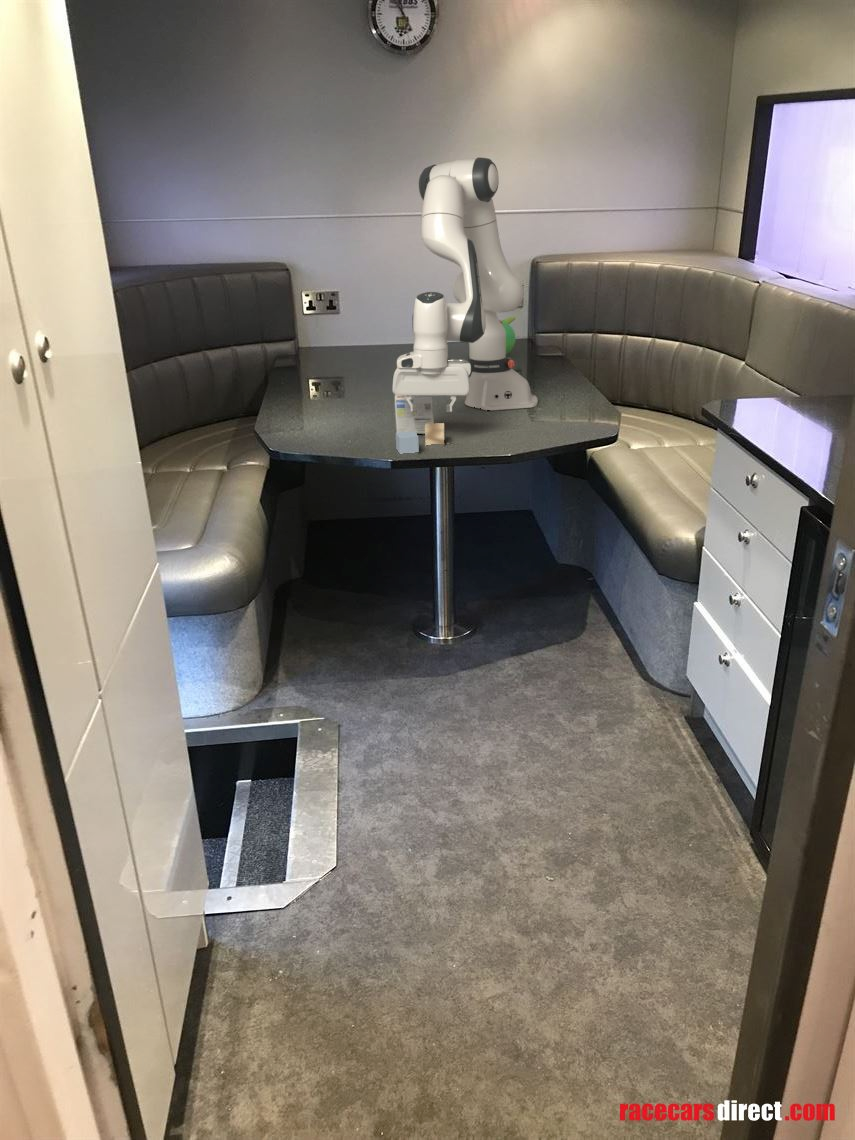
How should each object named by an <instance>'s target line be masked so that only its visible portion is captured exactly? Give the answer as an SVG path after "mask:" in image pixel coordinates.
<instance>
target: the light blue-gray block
mask: <svg viewBox="0 0 855 1140" xmlns="http://www.w3.org/2000/svg"><path fill="white" fill-rule="evenodd" d="M395 448H396V449H397V450H398V452H399V453H400V454H403V453H415V452H419V453H420V451H419V450H420V449H419V435H417V434H416V433H415V431H410V432H399V433H396V432H395ZM396 449H395V450H396Z"/></svg>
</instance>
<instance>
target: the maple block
mask: <svg viewBox="0 0 855 1140" xmlns="http://www.w3.org/2000/svg"><path fill="white" fill-rule="evenodd" d="M445 436H446V435H445V423H444V422H442V423H441V422H440V423H439V422H438V423H437V422H434V423H428V424H426V425H425V435H424V440H425V443H424V444H425V446H426V445H431V444H444V445H445V443H444V440H445V439H446V438H445ZM445 441H446V440H445Z"/></svg>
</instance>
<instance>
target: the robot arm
mask: <svg viewBox="0 0 855 1140" xmlns="http://www.w3.org/2000/svg"><path fill="white" fill-rule="evenodd" d="M498 188H499V171H498V168H497V166H496V164H495V163H494V161H493V160H492V159H490V158H487V157H476V158H461V159H455V160H451V161H448V162H443V163H440V164H432V165H430V166H429V165H428V166H427V167H424V169H423V170H422V172H421V174H420V175H419V178H418V191H419V192H418V193H419V195H420V197H421V200H422V201H423V202H422V207H421V218H420V219H421V220H420V221H421V223H420V224H421V226H420V234H421V240H422V242H423V244H424V246H425V248H426V249H428V250H429V251H430V252H432V254H434V255H436V256H438V258H441V259H444V260H447V261H448V262H451V263H454V264H456V265H457V266H458V267H459V268H461V270H462V272H460V273H459V274H458V275H457V276H456V277H455V279H454V281H453V284H452V294H453V297H454V299H455V301H457V302H447V301H446V296H445V295H444V294H443V293H440V292H438V291H426V292H422V293H419V294H418V295H416V297H415V299H414V305H413V313H412V319H411V321H412V332H413V334H414V343H413V351H410V352H408V353H405V354H401V355H399V357H397V359H396V369H395V371H394V373H393V376H392V377H393V378H392V388H391V389H392V393H393V394H394V396H395V395H406V400H407V402H408V403H409V405H410V406H411V412H416V411H417V408H416V407H417V406H416V404H413V402H412V401H411V399H412V395H432V396H450V400H451V401H450V402H449V403H448V404H446V408H445V409H446V413H452V412H453V406H454V403H455V402H456V400H457V396H465V401H464V404H465V405H466V406H467V407H470V408H474V407H475V408H476V409H480V408H481V410H484V411H487V410H490V411H499V410H500V411H502V410H515V409H526V408H527V409H528V408H534V407H537V405H538V404H539V401H538V400H539V399H538V397H537V395H535V394H532V392H531V391H532V390H531V386H530V384H529V382H528V380H527V379H526V378H525V377H523V376H522V375H521V374H520V373H518V372H517V371H516V370H514V367H515V361H514V360H513V359H512V358H511V357H510V356H508V355H507V354H506V331H505V329H504V327H503V326H502V324H501V323H500V321H501V320H500V319H499V317H498V315H497V313H507V312H513V311H515V310H516V309H517V308H519V307H520V305H521V304H522V301H523V298H524V287H523V283H522V282H521V280H520V279H519V278H518V277H516V275H515V274H514V272H513V271H512V269H511V267H510V266H509V263H508V261H507V259H506V257H505V255H504V252H503V249H502V246H501V238H500V233H499V227H498V222H497V216H496V215H497V214H496V209H495V205H494V201H493V200H494V199H493V198H494V196H495V195H496V193H497V191H498ZM499 320H500V321H499ZM447 341H448V342H461V343H468V342H469V345H468V349H469V351H468V352H469V353H468V354H469V357H468V358H467V360H466V359H465V358H459V359H458V358H449V345H448V342H447ZM475 408H474V409H475Z"/></svg>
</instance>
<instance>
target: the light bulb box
mask: <svg viewBox="0 0 855 1140" xmlns="http://www.w3.org/2000/svg"><path fill="white" fill-rule="evenodd" d="M411 401H412V402H413V404H416V406H417V407H416V408H417V411H416V412H411V406H410V405H409V403H408V402H407V400H406V395H395V394H394V417H395V430H396V432H395V434H396V433H399V432H410V431H415V433H416V434H417V433H425V425H426V424H428V423H435V417H434V402H433V395H412V399H411Z"/></svg>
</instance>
